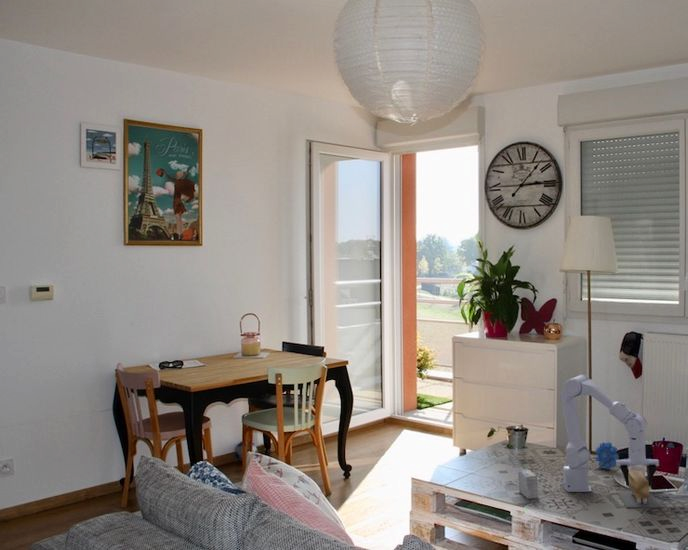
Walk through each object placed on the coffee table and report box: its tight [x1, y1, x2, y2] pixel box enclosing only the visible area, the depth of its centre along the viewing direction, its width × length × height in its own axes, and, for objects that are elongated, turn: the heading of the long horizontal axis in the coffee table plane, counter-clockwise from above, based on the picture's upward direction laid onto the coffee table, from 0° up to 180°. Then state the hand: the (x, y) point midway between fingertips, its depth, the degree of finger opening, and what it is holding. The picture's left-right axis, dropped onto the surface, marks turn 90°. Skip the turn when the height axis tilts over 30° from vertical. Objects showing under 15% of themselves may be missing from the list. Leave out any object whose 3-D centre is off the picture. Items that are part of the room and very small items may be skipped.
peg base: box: [616, 490, 663, 509], centre depth 270 cm, size 12×16×3 cm
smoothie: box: [628, 466, 647, 478], centre depth 283 cm, size 6×6×14 cm
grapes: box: [594, 441, 620, 471], centre depth 307 cm, size 12×7×12 cm, turn 31°
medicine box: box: [518, 469, 539, 500], centre depth 282 cm, size 8×4×9 cm, turn 9°
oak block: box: [627, 470, 650, 498], centre depth 270 cm, size 4×12×6 cm, turn 172°
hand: (638, 485), depth 270 cm, fingers open, 7 cm apart
